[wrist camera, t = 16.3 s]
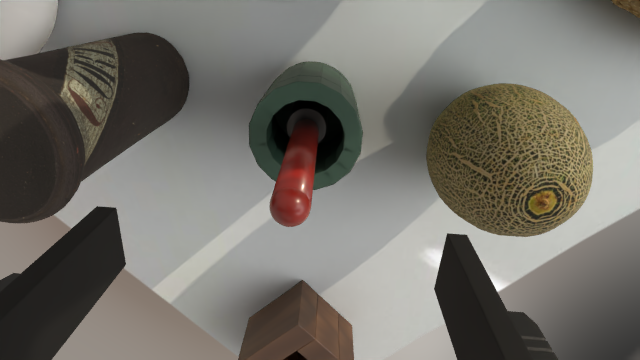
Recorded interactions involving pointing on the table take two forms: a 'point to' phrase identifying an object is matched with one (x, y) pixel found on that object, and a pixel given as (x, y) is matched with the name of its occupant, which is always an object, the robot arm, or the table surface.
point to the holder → (298, 329)
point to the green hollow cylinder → (342, 121)
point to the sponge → (629, 6)
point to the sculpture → (25, 26)
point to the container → (79, 115)
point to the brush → (299, 163)
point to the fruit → (510, 160)
